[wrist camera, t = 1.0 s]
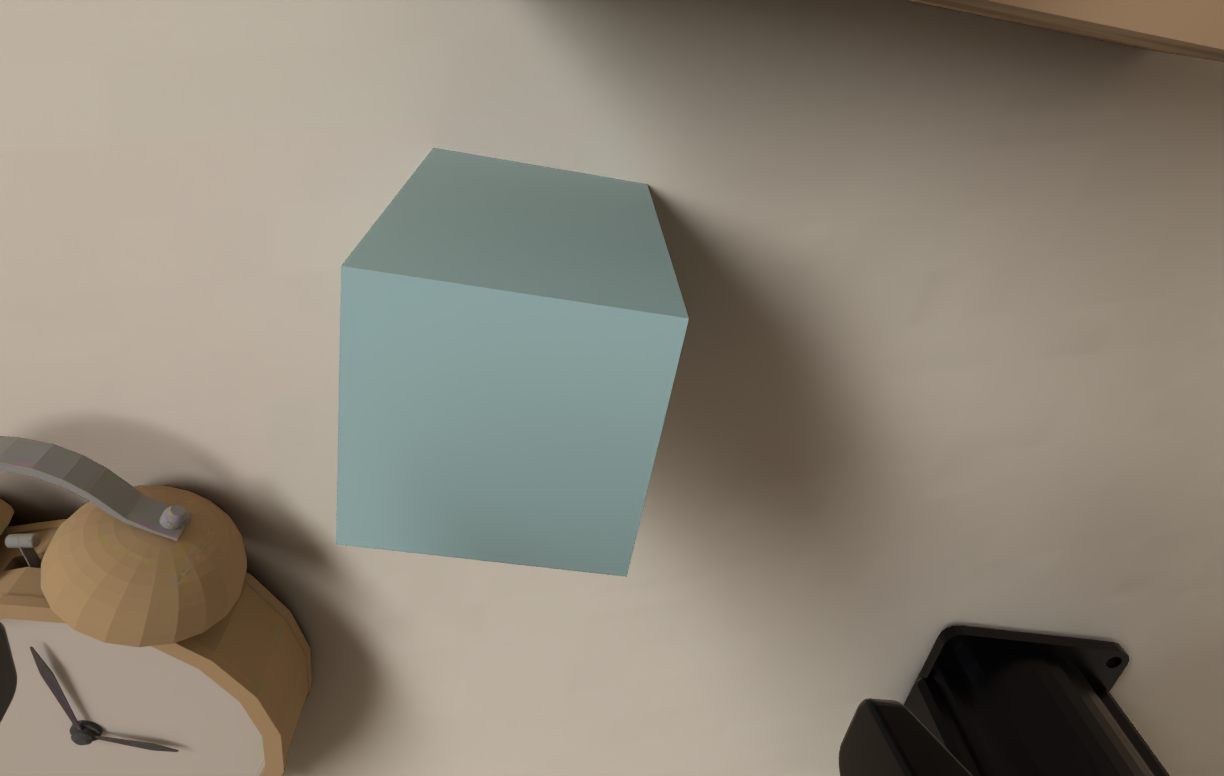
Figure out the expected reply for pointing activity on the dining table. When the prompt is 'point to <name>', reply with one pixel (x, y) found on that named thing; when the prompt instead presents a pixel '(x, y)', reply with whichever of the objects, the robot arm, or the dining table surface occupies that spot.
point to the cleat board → (1117, 21)
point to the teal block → (505, 366)
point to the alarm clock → (140, 634)
